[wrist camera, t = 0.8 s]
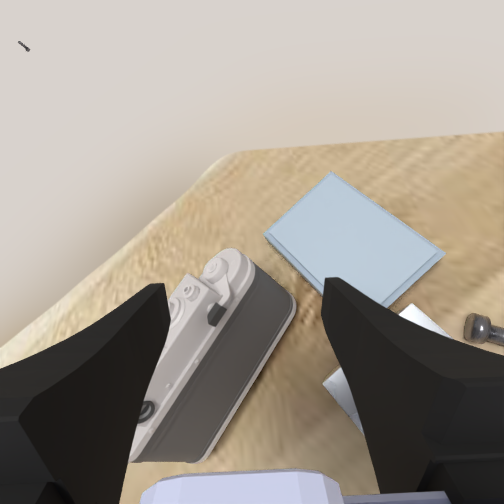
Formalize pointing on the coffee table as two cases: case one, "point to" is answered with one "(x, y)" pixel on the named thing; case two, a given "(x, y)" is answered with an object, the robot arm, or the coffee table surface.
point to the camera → (210, 357)
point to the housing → (337, 379)
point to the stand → (351, 242)
